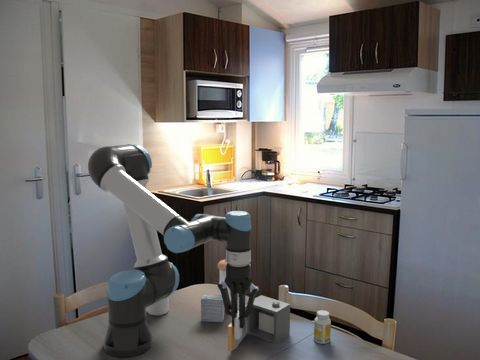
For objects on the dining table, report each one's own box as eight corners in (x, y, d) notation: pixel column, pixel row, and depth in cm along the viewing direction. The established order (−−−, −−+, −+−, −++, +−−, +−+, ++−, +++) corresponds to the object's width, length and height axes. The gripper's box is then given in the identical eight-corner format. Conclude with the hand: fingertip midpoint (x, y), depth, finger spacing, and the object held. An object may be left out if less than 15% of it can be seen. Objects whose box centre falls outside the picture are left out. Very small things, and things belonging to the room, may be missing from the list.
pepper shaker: (216, 303, 185) (216, 255, 182) (235, 302, 186) (235, 255, 183) (217, 310, 178) (217, 261, 175) (237, 310, 179) (237, 261, 176)
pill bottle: (158, 305, 183) (157, 268, 180) (173, 310, 178) (172, 272, 176) (142, 312, 176) (141, 273, 174) (158, 318, 172) (157, 278, 169)
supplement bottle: (315, 344, 153) (315, 316, 152) (312, 336, 159) (313, 309, 157) (331, 344, 153) (332, 316, 152) (328, 336, 158) (329, 309, 157)
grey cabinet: (242, 331, 162) (242, 298, 160) (256, 323, 168) (256, 291, 166) (276, 344, 153) (276, 309, 151) (289, 335, 159) (290, 301, 157)
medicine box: (224, 317, 172) (224, 295, 171) (222, 323, 168) (222, 299, 167) (203, 316, 173) (202, 294, 172) (200, 322, 169) (200, 298, 167)
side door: (243, 332, 160) (243, 304, 158) (246, 333, 159) (246, 305, 158) (227, 353, 146) (227, 323, 144) (231, 354, 145) (231, 323, 144)
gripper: (213, 264, 141) (214, 338, 144) (254, 269, 136) (254, 346, 140) (223, 257, 148) (223, 328, 151) (262, 261, 143) (261, 335, 147)
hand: (238, 336), depth 145 cm, fingers closed
